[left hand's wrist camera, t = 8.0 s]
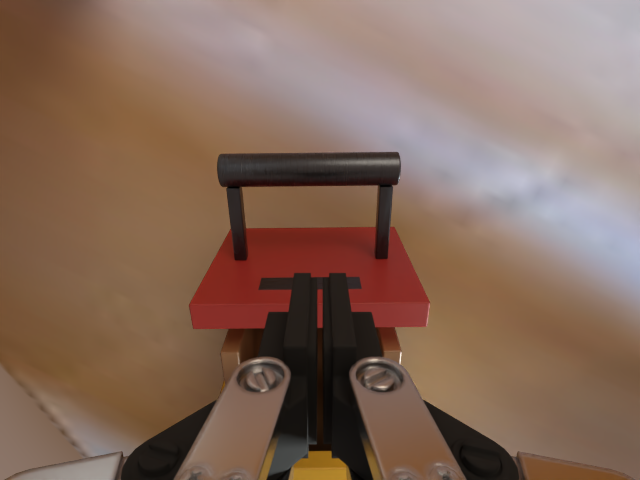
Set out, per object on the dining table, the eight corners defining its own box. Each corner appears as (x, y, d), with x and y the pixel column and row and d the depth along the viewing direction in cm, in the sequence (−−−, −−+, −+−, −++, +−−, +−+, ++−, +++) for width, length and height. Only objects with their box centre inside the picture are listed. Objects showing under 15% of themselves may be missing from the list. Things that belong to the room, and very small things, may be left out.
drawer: (220, 139, 20) (165, 179, 13) (401, 137, 20) (447, 176, 13) (256, 450, 30) (236, 571, 23) (377, 449, 30) (396, 569, 23)
